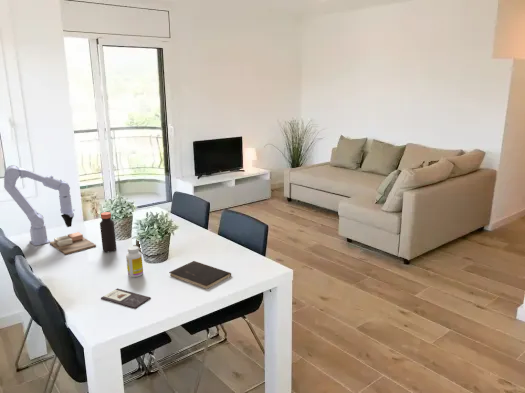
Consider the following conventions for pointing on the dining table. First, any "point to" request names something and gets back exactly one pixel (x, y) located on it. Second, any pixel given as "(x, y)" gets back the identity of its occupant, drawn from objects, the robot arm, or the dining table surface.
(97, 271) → the dining table surface
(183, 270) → the hardcover book
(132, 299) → the chocolate bar
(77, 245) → the board
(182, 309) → the dining table surface
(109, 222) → the vinegar
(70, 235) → the block
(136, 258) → the supplement bottle
